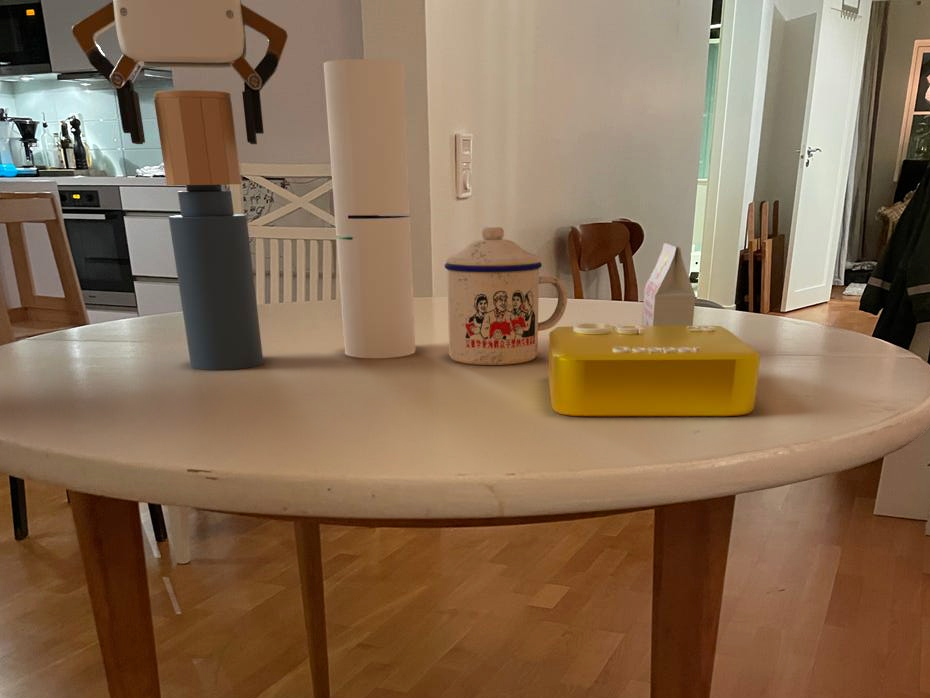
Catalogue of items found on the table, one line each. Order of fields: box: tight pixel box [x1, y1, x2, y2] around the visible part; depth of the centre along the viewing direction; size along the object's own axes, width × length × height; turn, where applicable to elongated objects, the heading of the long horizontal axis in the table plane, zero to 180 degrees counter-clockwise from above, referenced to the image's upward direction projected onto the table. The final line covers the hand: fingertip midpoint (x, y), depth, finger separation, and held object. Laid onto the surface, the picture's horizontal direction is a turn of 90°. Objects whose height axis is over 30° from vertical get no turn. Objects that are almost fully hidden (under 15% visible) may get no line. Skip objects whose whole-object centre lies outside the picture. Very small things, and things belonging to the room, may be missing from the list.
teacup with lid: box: [444, 226, 568, 366], centre depth 87 cm, size 12×9×12 cm
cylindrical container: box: [323, 58, 416, 359], centre depth 88 cm, size 7×7×25 cm
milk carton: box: [641, 242, 696, 326], centre depth 87 cm, size 4×7×10 cm, turn 179°
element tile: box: [548, 322, 761, 417], centre depth 72 cm, size 15×15×5 cm
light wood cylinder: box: [153, 89, 242, 186], centre depth 80 cm, size 6×6×7 cm
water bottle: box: [168, 185, 264, 371], centre depth 84 cm, size 7×7×22 cm
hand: (196, 143), depth 80 cm, fingers open, 9 cm apart
